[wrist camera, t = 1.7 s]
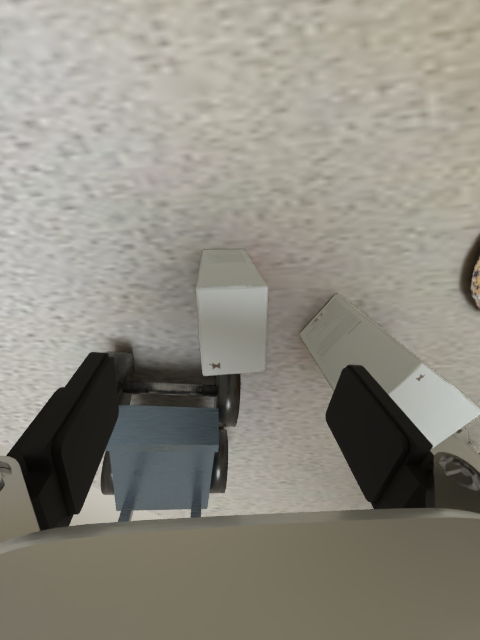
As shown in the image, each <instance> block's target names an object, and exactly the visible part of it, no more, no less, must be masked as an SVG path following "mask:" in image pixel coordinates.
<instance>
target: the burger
mask: <svg viewBox="0 0 480 640" xmlns="http://www.w3.org/2000/svg"><path fill="white" fill-rule="evenodd" d="M470 293H471V295H472V297H473V299H474V301H475V303H476V305H477V307H478V309H480V255H479V257H478V258H477V261H476V264H475V267H474V270H473V273H472V281H471V287H470Z"/></svg>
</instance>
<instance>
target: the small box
mask: <svg viewBox="0 0 480 640" xmlns="http://www.w3.org/2000/svg"><path fill="white" fill-rule="evenodd" d="M299 336H300V337H301V339H302V341H303V342H304V344H305V345H306V347H307V349H308V350H309V352H310V353H311V355H312V357H313V358H314V360H315V361H316V363H317V365H318V366H319V368H320V370H321V371H322V373H323V375H324V376H325V378H326V379H327V381H328V383H329V384H330V386H331V387H332V389H333V391H334V390H335V387H336V385H337V382H338V379H339V377H340V374H341V371H342V369H343V368H346V366H347V365H362V366H363V367H364V368H365V369H366V370H367V371H368V372H369V373H370V374H371V375H372V377H373V378H374V379H375V380H376V381H377V382H378V383H379V385H380V386H381V387H382V388H383V389H384V390H385V391H386V393H387V394H388V395H389V396H390V397H391V398H392V399H393V400H394V402H395V403H396V404H397V405H398V406H399V407H400V408H401V410H402V411H403V412H404V413H405V414H406V415H407V416H408V418H409V419H410V420H411V421H412V422H413V423H414V424H415V426H416V427H417V428H418V429H419V430H420V431H421V432H422V433H423V435H424V436H425V437H426V438H427V439H428V440H429V441H430V443H431V444H432V445H433V447H435V446H436V445H438V444H439V443H441V442H442V441H444V440H445V439H446V438H448V437H449V436H451V435H452V434H453V433H455V432H456V431H458V430H459V429H461V428H462V427H463V426H465V425H466V424H468V423H469V422H470V421H472V420H473V419H475V418H476V417H478V416H479V415H480V408H479V407H478V406H477V405H476V404H475V403H473V402H472V401H471V400H470V399H469V398H468V397H466V396H465V395H464V394H463V393H462V392H461V391H459V390H458V389H457V388H456V387H455V386H454V385H452V384H451V383H450V382H449V381H447V380H446V379H444V378H443V377H442V376H441V375H439V374H438V373H437V372H436V371H434V370H433V369H432V368H431V367H429V366H428V365H427V364H426V363H424V362H423V361H422V360H421V359H420V358H418V357H417V356H416V355H415V354H413V353H412V352H411V351H410V350H409V349H407V348H406V347H405V346H404V345H402V344H401V343H400V342H399V341H397V340H396V339H395V338H394V337H392V336H391V335H390V334H389V333H388V332H386V331H385V330H384V329H383V328H381V327H380V326H379V325H378V324H376V323H375V322H374V321H373V320H371V319H370V318H369V317H368V316H366V315H365V314H364V313H363V312H361V311H360V310H359V309H358V308H356V307H355V306H354V305H353V304H351V303H350V302H349V301H347V300H346V299H345V298H343V297H342V296H341V295H339V294H338V293H337V294H335V295H334V296H333V298H332V299H331V300H330V301H329V302H328V303H327V304H326V305H325V306H324V307H323V308H322V309H321V311H320V312H319V313H318V314H317V315H316V316H315V317H314V318H313V319H312V320H311V322H310V323H309V324H308V325H307V326H306V327H305V328H304V329H303V330H302V332H301V333H300V334H299ZM433 447H432V448H433Z"/></svg>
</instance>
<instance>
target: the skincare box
mask: <svg viewBox="0 0 480 640" xmlns="http://www.w3.org/2000/svg"><path fill="white" fill-rule="evenodd" d="M196 303H197V315H198V335H199V343H200V355H201V365H202V374H203V376H212V375H224V374H240V373H253V372H263V371H265V370H266V355H267V314H268V285H267V284H266V282H265V280H264V279H263V277H262V276H261V274H260V273H259V271H258V269H257V268H256V266H255V265H254V263H253V262H252V260H251V258H250V257H249V255H248V254H247V252H246V251H245V249H219V250H203V251H202V257H201V262H200V267H199V273H198V279H197V285H196Z"/></svg>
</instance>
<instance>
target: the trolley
mask: <svg viewBox="0 0 480 640" xmlns="http://www.w3.org/2000/svg"><path fill="white" fill-rule="evenodd" d="M106 353H108V354H109V357H113V358H114V363H115V373H116V384H117V394H118V405H119V415H118V419H117V422H116V424H115V427H114V429H113V432H112V434H111V437H110V439H109V442H108V444H107V447H106V449H105V451H106V453H105V457H104V461H103V466H102V473H101V491H102V493H103V494H104V495H115V502H116V510H117V511H121V513H120V517H119V520H118V522H126V521H131V518H132V514H133V510H169V509H191V518H196V517H201V509H207V506H208V498H209V493H224V492H225V489H226V482H227V470H228V438H227V431H226V430H220V429H219V426H231V427H235V426H236V423H237V419H238V414H239V405H240V385H241V382H240V374H224V375H216V382H215V385H201V384H179V383H156V382H134V374H135V368H134V359H133V356H132V354H131V353H123V352H106ZM132 394H156V395H183V396H209V397H214V408H201V407H169V406H138V405H130V401H131V397H132Z"/></svg>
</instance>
